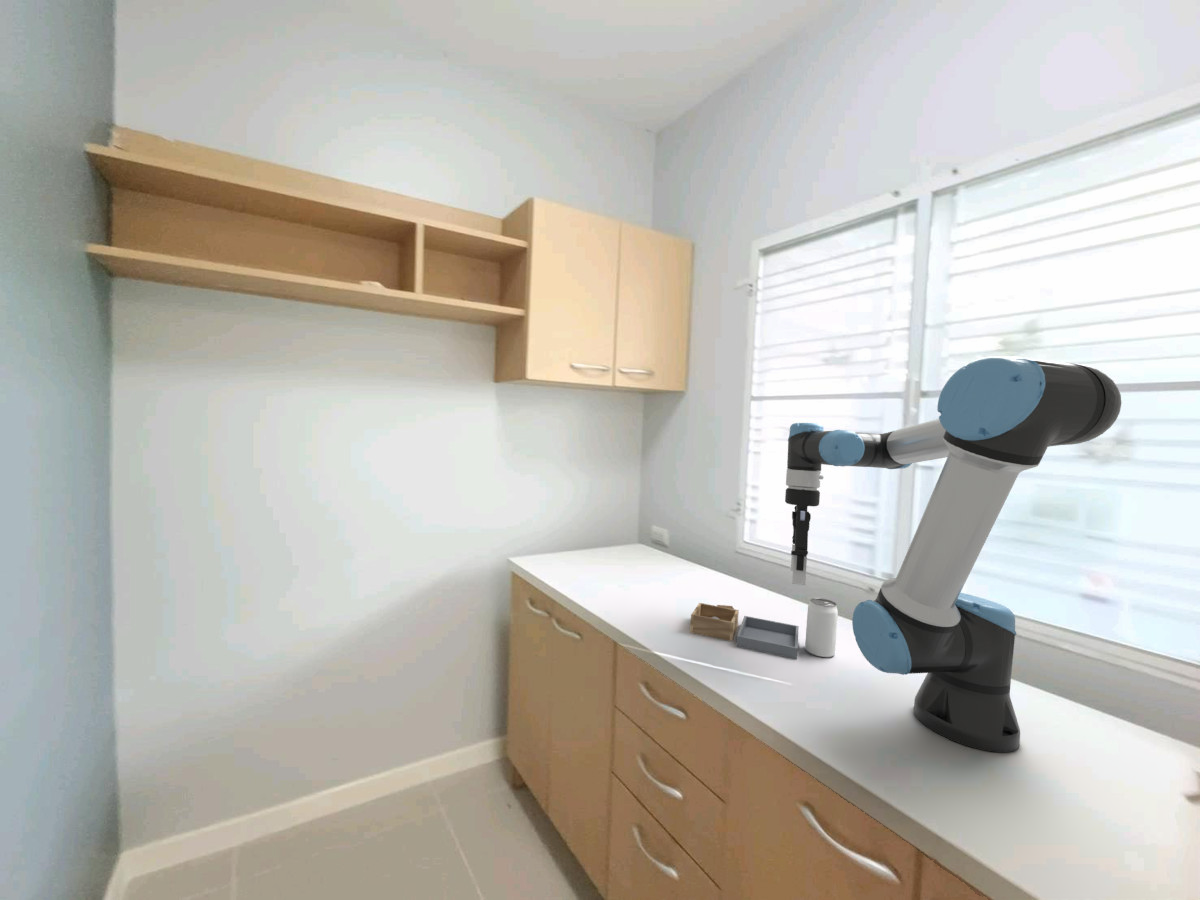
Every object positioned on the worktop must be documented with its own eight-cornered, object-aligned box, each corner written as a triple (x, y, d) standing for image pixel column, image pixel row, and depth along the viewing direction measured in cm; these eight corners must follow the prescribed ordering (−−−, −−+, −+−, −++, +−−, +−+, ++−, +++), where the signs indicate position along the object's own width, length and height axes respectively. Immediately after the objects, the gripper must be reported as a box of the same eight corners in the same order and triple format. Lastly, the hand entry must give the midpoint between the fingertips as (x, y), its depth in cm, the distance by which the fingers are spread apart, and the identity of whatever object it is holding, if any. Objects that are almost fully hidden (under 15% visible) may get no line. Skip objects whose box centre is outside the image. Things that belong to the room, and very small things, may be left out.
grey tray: (796, 661, 110) (797, 648, 110) (736, 648, 115) (737, 636, 115) (797, 637, 124) (798, 626, 124) (743, 627, 129) (744, 615, 129)
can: (839, 659, 112) (843, 607, 112) (811, 657, 112) (815, 605, 112) (827, 647, 119) (830, 598, 118) (800, 645, 119) (804, 596, 119)
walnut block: (734, 626, 129) (735, 611, 129) (719, 624, 130) (720, 609, 129) (731, 620, 133) (732, 605, 133) (716, 619, 134) (717, 604, 133)
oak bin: (731, 643, 117) (733, 622, 117) (689, 634, 121) (691, 614, 121) (737, 629, 127) (738, 610, 127) (698, 621, 131) (699, 602, 131)
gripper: (824, 493, 103) (818, 593, 103) (816, 486, 127) (811, 568, 127) (786, 490, 106) (780, 588, 106) (785, 484, 129) (780, 564, 129)
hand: (797, 577), depth 116 cm, fingers open, 13 cm apart
